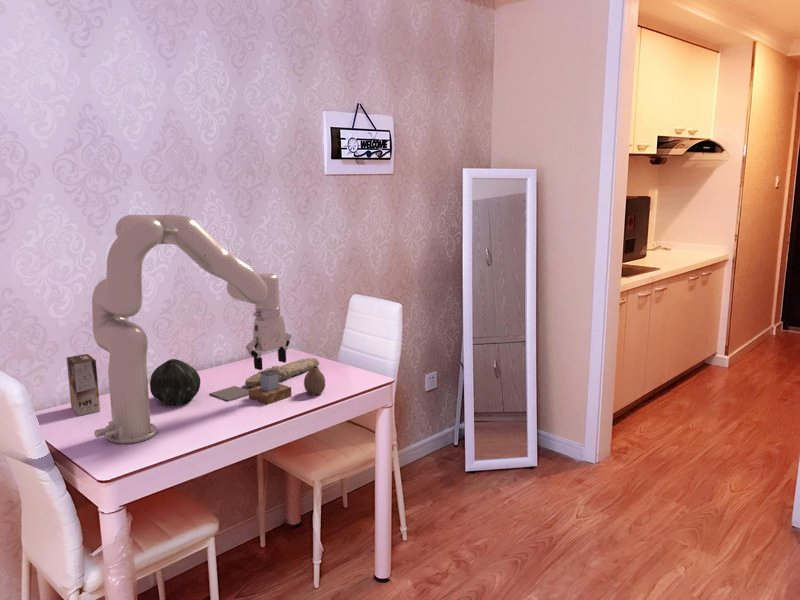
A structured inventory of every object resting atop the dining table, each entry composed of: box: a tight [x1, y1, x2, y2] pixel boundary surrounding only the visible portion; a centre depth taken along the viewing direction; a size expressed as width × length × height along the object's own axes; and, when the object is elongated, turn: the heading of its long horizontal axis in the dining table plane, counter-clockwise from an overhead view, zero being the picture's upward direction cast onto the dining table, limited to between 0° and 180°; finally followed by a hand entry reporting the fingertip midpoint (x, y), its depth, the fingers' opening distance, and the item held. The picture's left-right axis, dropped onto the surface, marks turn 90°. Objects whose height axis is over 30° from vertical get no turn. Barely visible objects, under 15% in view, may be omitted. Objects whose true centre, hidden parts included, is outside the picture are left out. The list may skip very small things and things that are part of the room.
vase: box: [303, 366, 326, 396], centre depth 211 cm, size 7×7×9 cm
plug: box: [259, 369, 280, 392], centre depth 207 cm, size 4×4×8 cm
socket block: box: [247, 383, 292, 405], centre depth 207 cm, size 10×9×3 cm
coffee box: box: [66, 353, 101, 417], centre depth 194 cm, size 9×6×16 cm
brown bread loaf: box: [245, 357, 320, 388], centre depth 229 cm, size 35×5×10 cm
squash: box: [149, 358, 201, 406], centre depth 202 cm, size 14×15×15 cm
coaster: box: [208, 385, 249, 402], centre depth 210 cm, size 10×10×1 cm
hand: (270, 365), depth 206 cm, fingers open, 9 cm apart
